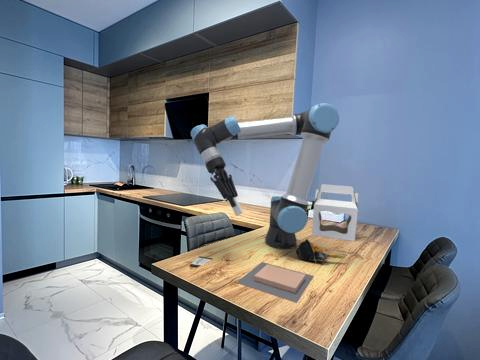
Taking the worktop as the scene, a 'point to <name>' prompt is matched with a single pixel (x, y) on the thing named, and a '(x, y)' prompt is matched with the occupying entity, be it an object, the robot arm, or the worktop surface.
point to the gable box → (335, 207)
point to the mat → (249, 282)
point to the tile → (280, 278)
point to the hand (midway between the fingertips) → (239, 214)
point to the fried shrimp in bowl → (314, 252)
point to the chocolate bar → (200, 261)
